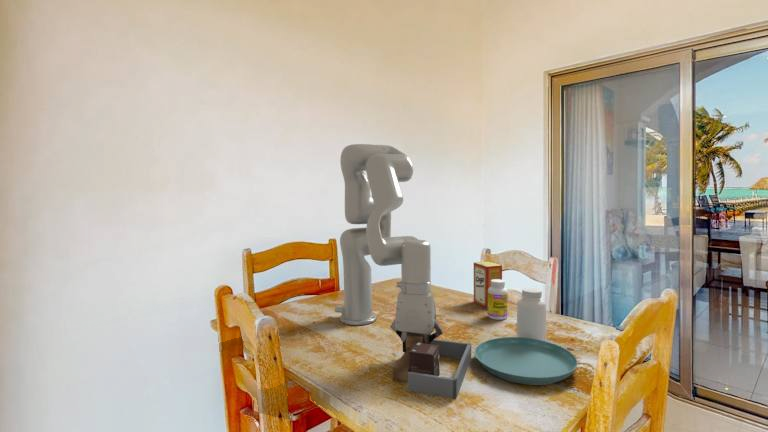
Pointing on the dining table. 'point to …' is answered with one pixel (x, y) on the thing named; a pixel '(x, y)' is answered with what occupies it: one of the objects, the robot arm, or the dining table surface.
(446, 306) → the dining table surface
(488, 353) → the teal plate
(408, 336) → the brown l-shaped block
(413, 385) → the open-sided frame
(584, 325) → the dining table surface
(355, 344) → the dining table surface
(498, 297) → the supplement bottle
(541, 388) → the dining table surface
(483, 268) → the baking soda box
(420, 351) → the box
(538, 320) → the pill bottle
